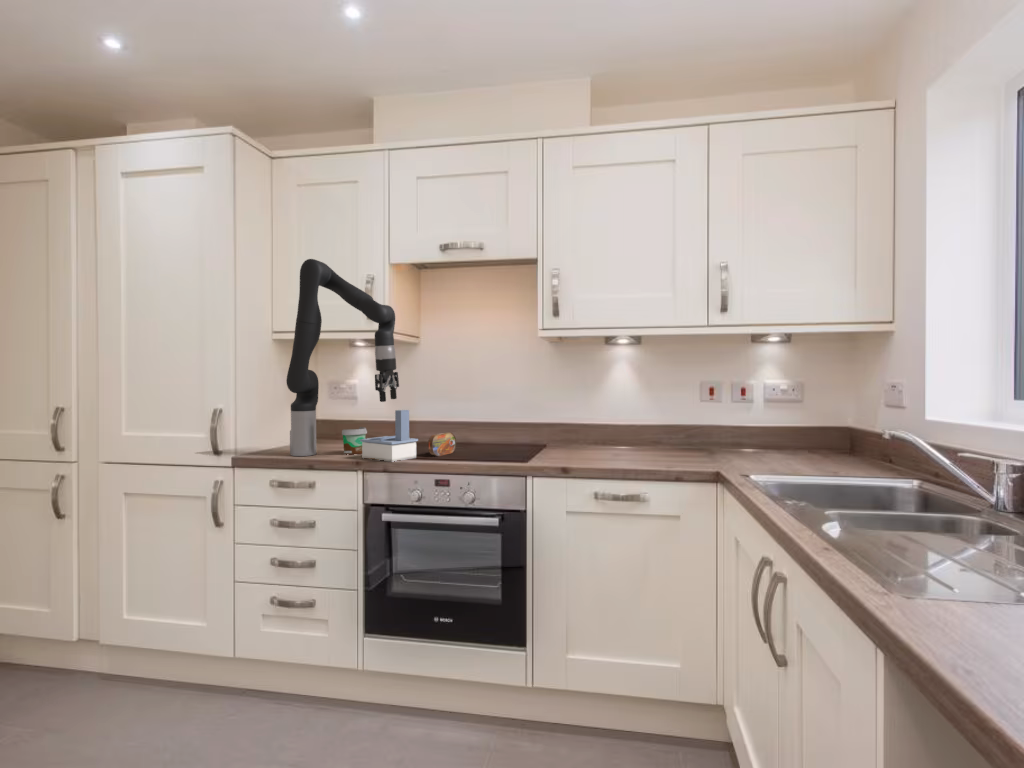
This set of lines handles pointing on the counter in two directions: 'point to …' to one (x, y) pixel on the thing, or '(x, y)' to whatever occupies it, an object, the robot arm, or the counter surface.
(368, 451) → the tub
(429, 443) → the tin
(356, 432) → the food container
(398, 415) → the lid
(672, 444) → the counter surface
